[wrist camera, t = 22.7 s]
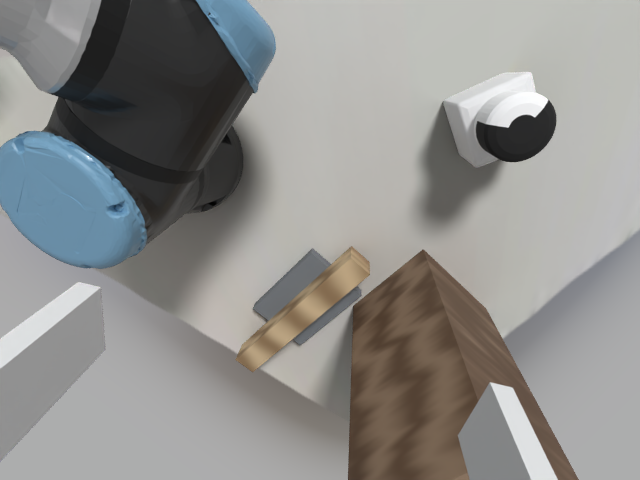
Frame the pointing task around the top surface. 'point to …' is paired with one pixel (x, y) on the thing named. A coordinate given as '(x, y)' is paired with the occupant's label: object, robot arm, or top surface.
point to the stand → (427, 377)
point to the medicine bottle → (500, 119)
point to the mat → (294, 285)
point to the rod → (305, 308)
